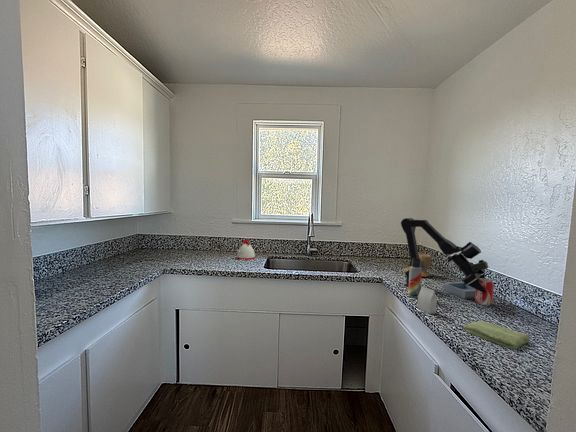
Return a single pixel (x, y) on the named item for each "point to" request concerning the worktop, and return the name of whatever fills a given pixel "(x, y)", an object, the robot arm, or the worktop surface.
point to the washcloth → (497, 334)
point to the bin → (460, 290)
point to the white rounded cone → (246, 251)
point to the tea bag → (427, 300)
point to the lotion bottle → (415, 278)
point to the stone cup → (427, 260)
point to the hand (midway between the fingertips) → (487, 290)
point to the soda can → (488, 296)
